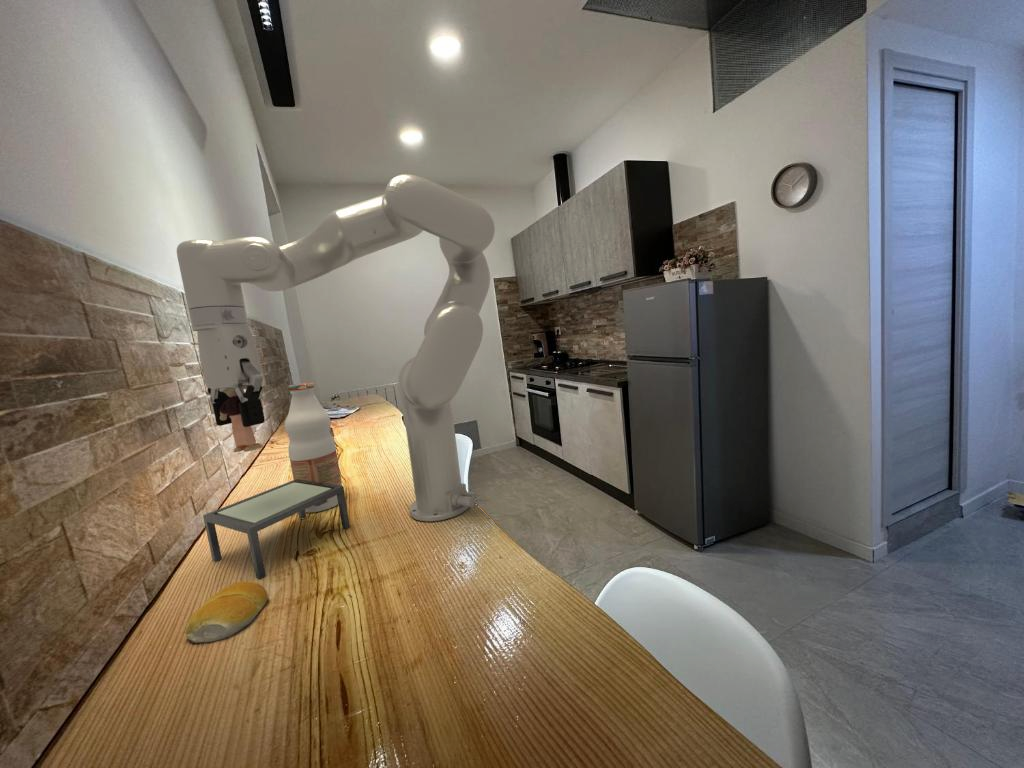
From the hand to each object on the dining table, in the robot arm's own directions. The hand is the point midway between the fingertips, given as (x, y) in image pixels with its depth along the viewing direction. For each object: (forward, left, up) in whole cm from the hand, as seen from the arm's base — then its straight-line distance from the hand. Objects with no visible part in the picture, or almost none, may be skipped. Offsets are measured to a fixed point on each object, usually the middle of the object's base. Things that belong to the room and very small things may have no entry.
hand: (240, 423), depth 66 cm
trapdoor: (0, -4, -18) cm, 19 cm away
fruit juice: (+9, -18, -24) cm, 31 cm away
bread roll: (-13, +12, -24) cm, 30 cm away
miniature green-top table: (0, -3, -24) cm, 24 cm away
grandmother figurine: (0, 0, -5) cm, 5 cm away
